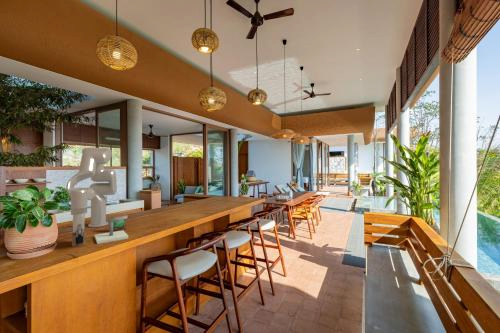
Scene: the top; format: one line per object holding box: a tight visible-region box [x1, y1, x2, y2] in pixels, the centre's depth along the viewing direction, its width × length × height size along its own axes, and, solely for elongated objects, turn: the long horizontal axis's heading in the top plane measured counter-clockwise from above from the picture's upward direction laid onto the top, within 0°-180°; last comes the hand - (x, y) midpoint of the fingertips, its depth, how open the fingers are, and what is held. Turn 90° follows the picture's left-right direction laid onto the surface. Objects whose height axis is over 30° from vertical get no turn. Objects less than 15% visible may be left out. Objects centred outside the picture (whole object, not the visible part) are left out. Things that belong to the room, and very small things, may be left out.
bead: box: [71, 230, 87, 248], centre depth 131 cm, size 6×6×6 cm
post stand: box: [94, 222, 129, 245], centre depth 142 cm, size 16×16×10 cm
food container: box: [107, 215, 129, 232], centre depth 157 cm, size 12×6×10 cm, turn 101°
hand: (79, 241), depth 131 cm, fingers open, 9 cm apart
